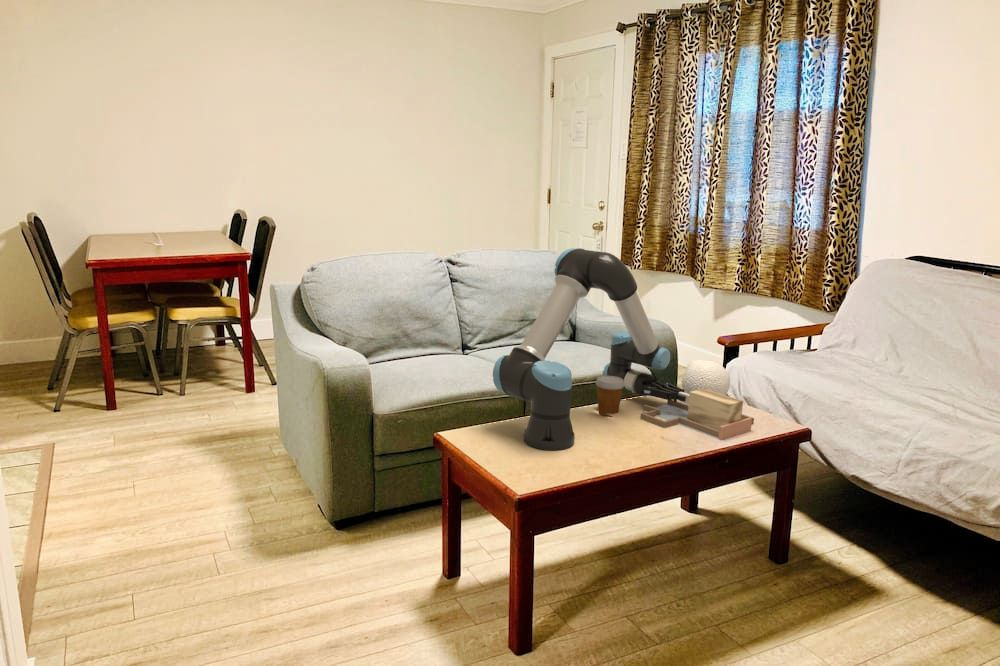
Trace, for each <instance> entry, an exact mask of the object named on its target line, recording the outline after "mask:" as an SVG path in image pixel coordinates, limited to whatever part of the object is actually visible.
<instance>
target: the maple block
mask: <svg viewBox="0 0 1000 666" xmlns="http://www.w3.org/2000/svg"><path fill="white" fill-rule="evenodd" d="M687 405H688V416H687V419H688V420H691V421H693V422H696V423H699V424H702V425H705V426H707V427H710V428H713V429H716V430H719V427H720V426H723V425H726V424H729V423H733V422H736V421H739V420H741V417H742V414H743V405H744V400H741V399H739V398H735V397H731V396H728V395H727V394H726V395H723V394H720V393H716V392H713V391H710V390H707V389H700V390H696V391H692V392H690V394H689V404H687Z"/></svg>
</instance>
